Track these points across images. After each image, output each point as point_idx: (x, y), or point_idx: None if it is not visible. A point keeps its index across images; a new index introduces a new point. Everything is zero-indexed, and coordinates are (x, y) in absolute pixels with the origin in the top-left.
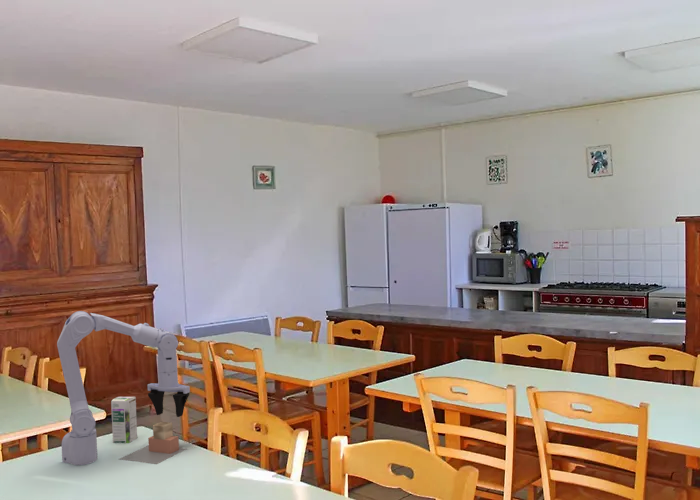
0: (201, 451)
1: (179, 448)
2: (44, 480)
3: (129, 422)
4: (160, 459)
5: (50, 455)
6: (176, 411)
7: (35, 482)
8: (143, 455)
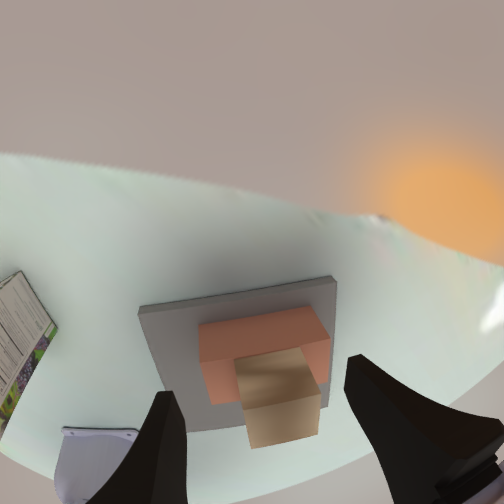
0: (376, 246)
1: (303, 296)
2: None
3: (16, 381)
4: None
5: None
6: (363, 420)
7: None
8: None
